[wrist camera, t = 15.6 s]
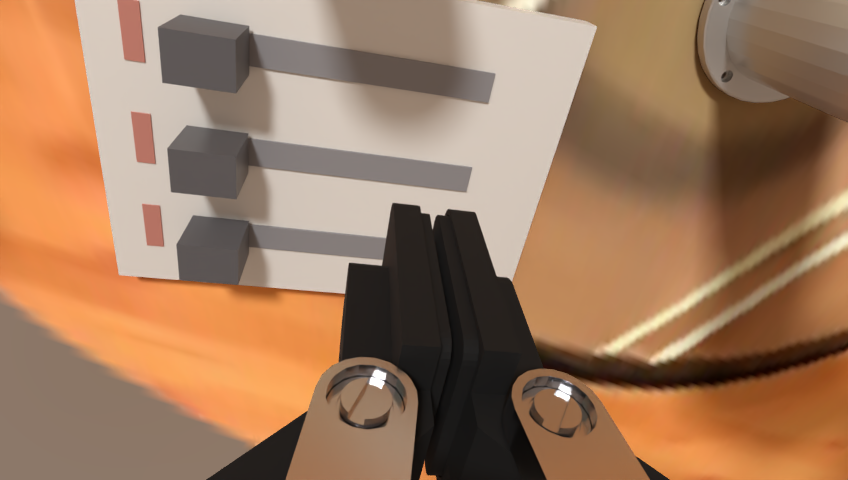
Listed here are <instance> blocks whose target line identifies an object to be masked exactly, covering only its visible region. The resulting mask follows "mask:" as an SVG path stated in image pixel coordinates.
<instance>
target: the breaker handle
mask: <svg viewBox="0 0 848 480" xmlns="http://www.w3.org/2000/svg"><path fill="white" fill-rule="evenodd" d="M167 153H168V164H169V175H170V187H171V192H173V193H182V194H191V195H201V196H210V197H219V198H228V199H237V197H238V195H239V193H240V191H241V188H242V186H243V184H244V182H245V180H246V177H247V175H248V133H242V132H234V131H226V130H219V129H211V128H204V127H196V126H188V125H186V127H185V128H184V129H183V130H182V131H181V132H180V134H179V135H178V136H177V137H176V138H175V140H174V141H173V142H172V143H171V144H170V146H169V147H168V148H167Z"/></svg>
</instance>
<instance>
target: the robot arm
mask: <svg viewBox="0 0 848 480" xmlns="http://www.w3.org/2000/svg"><path fill="white" fill-rule="evenodd" d="M697 41H698V54H699V58H700V62H701V65H702V68H703V70H704V72H705V73H706V75H707V77H708V79H709V80H710V81H711V82H712V83H713V84H714V85H715V86H716V87H717V88H718V89H719V90H721V91H723V92H724V93H726V94H728V95H729V96H732V97H734V98H736V99H739V100H741V101H746V102H752V103H769V102H775V101H779V100H783V99H787V98H790V97H791V98H793V99H796V100H798V101H800V102H803V103H805V104H807V105H809V106H812V107H814V108H816V109H818V110H821V111H823V112H825V113H827V114H830V115H832V116H834V117H836V118H839V119H841V120H843V121H845V122H848V0H705V2H704V6H703V9H702V12H701V15H700V19H699V27H698V34H697ZM424 460H425V467H426V473H427V475H436V478H437V480H669V479H668V478H667V477H665V476H664V475H662V474H661V473H659V472H658V471H656V470H655V469H654V468H652V467H651V466H649V465H648V464H646V463H645V462H643V461H642V460H641V459H639V458H638V457H636V456H635V455H634V453H633V452H632V450H631V449H630V447H629V445H628V444H627V442H626V441H625V439H624V437H623V436H622V434H621V433H620V431H619V429H618V428H617V426H616V425H615V423H614V421H613V420H612V418H611V417H610V415H609V413H608V412H607V410H606V409H605V407H604V405H603V404H602V402H601V401H600V400H599V398H598V397H597V396H596V395H595V393H594V392H593V391H592V390H591V389H590V388H588V387H587V386H586V385H585V384H583V383H582V382H581V381H579V380H578V379H576V378H574V377H572V376H570V375H568V374H566V373H563V372H559V371H556V370H552V369H544V368H543V365H542V363H541V360H540V357H539V354H538V352H537V349H536V346H535V344H534V341H533V338H532V335H531V333H530V330H529V327H528V324H527V322H526V319H525V316H524V314H523V311H522V308H521V305H520V303H519V300H518V297H517V294H516V292H515V289H514V286H513V284H512V282H511V280H510V279H509V278H507V277H497V276H496V273H495V270H494V267H493V264H492V261H491V258H490V255H489V252H488V249H487V246H486V242H485V239H484V236H483V233H482V230H481V227H480V224H479V221H478V218H477V215H476V213H475V212H470V211H462V210H453V209H448V210H447V211H446V213H445V216H444V215H437V216H436V218H435V221H434V226H433V229H432V224H431V218H430V214H426V213H421V208H420V206H418V205H409V204H400V203H392V206H391V211H390V217H389V224H388V230H387V236H386V243H385V249H384V255H383V262H382V266H380V265H370V264H359V263H349V265H348V273H347V281H346V290H345V299H344V308H343V318H342V329H341V340H340V353H339V363H337V364H335V365H332V366H331V367H330V368H329V369H328V370H327V371H326V372H324V373H323V374H322V376H321V378H320V379H319V381H318V383H317V385H316V387H315V390H314V393H313V397H312V400H311V403H310V406H309V409H308V411H307V412H305V413H304V414H302V415H301V416H299V417H298V418H296V419H295V420H293V421H292V422H290V423H289V424H288V425H286V426H285V427H283V428H282V429H280V430H279V431H277V432H276V433H274V434H273V435H271V436H270V437H268V438H267V439H265V440H264V441H263V442H261V443H260V444H258V445H257V446H255V447H254V448H252V449H251V450H249V451H248V452H246V453H245V454H243V455H242V456H241V457H239V458H238V459H236V460H235V461H233V462H232V463H230V464H229V465H227V466H226V467H224V468H223V469H221V470H220V471H218V472H217V473H216V474H214V475H213V476H211V477H210V478H208V479H207V480H419V478H420V475H421V471H422V468H423V464H424Z"/></svg>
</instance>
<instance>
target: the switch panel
mask: <svg viewBox="0 0 848 480" xmlns="http://www.w3.org/2000/svg"><path fill="white" fill-rule="evenodd" d="M75 5H76V11H77V18H78V24H79V30H80V36H81V42H82V49H83V55H84V61H85V67H86V73H87V80H88V86H89V92H90V98H91V104H92V111H93V117H94V123H95V129H96V135H97V142H98V148H99V154H100V160H101V166H102V173H103V179H104V185H105V191H106V197H107V204H108V210H109V216H110V222H111V228H112V235H113V241H114V247H115V253H116V259H117V266H118V272H119V275H124V276H136V277H148V278H161V279H173V280H185V281H197V282H209V283H221V284H234V285H246V286H258V287H270V288H282V289H294V290H307V291H319V292H331V293H343V294H345V290H346V281H347V273H348V265H349V263H359V264H370V265H380V266H382V262H383V255H384V249H385V243H386V236H387V230H388V224H389V217H390V211H391V206H392V203H400V204H409V205H418V206H420V208H421V213H426V214H430V218H431V224H432V229H433V226H434V221H435V218H436V216H437V215H444V216H445V213H446V211H447V210H448V209H453V210H462V211H470V212H475V213H476V215H477V218H478V221H479V224H480V227H481V230H482V233H483V236H484V239H485V242H486V246H487V249H488V252H489V255H490V258H491V261H492V264H493V267H494V270H495V273H496V276H497V277H507V278H509V279H510V280H511V282H512V280H513V277H514V274H515V271H516V268H517V265H518V262H519V259H520V256H521V253H522V250H523V247H524V244H525V241H526V238H527V235H528V232H529V229H530V226H531V223H532V220H533V217H534V214H535V211H536V208H537V205H538V202H539V199H540V196H541V193H542V190H543V187H544V184H545V181H546V178H547V175H548V172H549V169H550V166H551V163H552V160H553V157H554V154H555V151H556V148H557V145H558V142H559V139H560V136H561V133H562V130H563V127H564V124H565V121H566V118H567V115H568V112H569V109H570V106H571V103H572V100H573V97H574V94H575V91H576V88H577V85H578V82H579V79H580V76H581V73H582V70H583V67H584V64H585V61H586V58H587V55H588V52H589V49H590V46H591V43H592V40H593V37H594V34H595V31H596V28H597V26H595V25H593V24H591V23H589V22H587V21H584V20H578V19H573V18H568V17H562V16H557V15H552V14H546V13H541V12H536V11H530V10H525V9H520V8H515V7H509V6H504V5H499V4H493V3H488V2H483V1H477V0H75ZM186 125H188V126H196V127H204V128H211V129H219V130H226V131H234V132H242V133H248V175H247V177H246V180H245V182H244V184H243V186H242V188H241V191H240V193H239V195H238V197H237V199H228V198H219V197H210V196H201V195H191V194H182V193H173V192H171V187H170V175H169V164H168V153H167V148H168V147H169V146H170V144H171V143H172V142H173V141H174V140H175V138H176V137H177V136H178V135H179V134H180V132H181V131H182V130H183V129H184V128H185V127H186Z"/></svg>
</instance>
